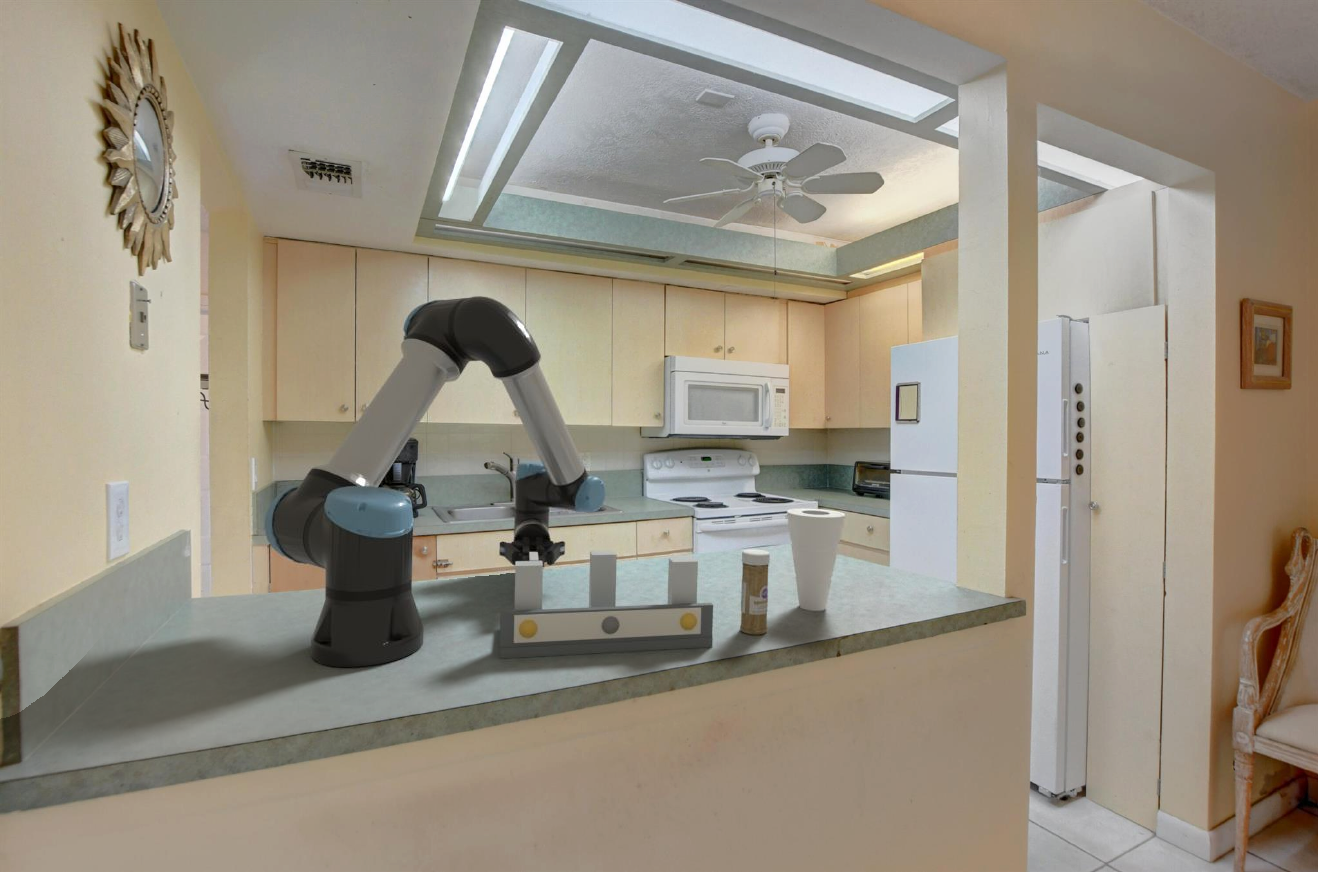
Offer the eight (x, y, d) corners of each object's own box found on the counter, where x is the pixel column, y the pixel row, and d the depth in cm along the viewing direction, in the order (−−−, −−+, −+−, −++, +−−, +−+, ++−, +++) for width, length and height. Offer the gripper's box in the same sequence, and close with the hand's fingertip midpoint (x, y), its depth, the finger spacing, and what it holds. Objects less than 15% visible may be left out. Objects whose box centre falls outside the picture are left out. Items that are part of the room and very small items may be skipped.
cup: (773, 601, 123) (776, 509, 122) (819, 596, 126) (822, 507, 126) (804, 618, 113) (807, 518, 112) (853, 613, 116) (857, 516, 116)
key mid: (590, 622, 102) (592, 555, 102) (588, 616, 105) (590, 551, 105) (615, 621, 103) (616, 554, 103) (612, 615, 106) (614, 550, 105)
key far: (671, 631, 99) (673, 562, 98) (667, 625, 102) (668, 557, 101) (695, 630, 100) (697, 561, 99) (690, 624, 103) (692, 557, 102)
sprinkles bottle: (761, 637, 102) (764, 555, 102) (735, 632, 105) (737, 551, 104) (771, 629, 106) (773, 550, 106) (745, 624, 109) (748, 547, 108)
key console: (499, 659, 91) (500, 614, 90) (502, 628, 104) (502, 588, 103) (712, 647, 97) (714, 605, 97) (690, 619, 110) (691, 582, 110)
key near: (514, 639, 94) (515, 566, 93) (514, 632, 97) (515, 561, 96) (541, 638, 94) (542, 565, 94) (540, 631, 97) (542, 560, 97)
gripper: (563, 558, 133) (571, 588, 110) (499, 559, 130) (494, 590, 107) (564, 522, 133) (572, 545, 110) (500, 523, 130) (495, 546, 107)
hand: (533, 567), depth 108 cm, fingers closed
